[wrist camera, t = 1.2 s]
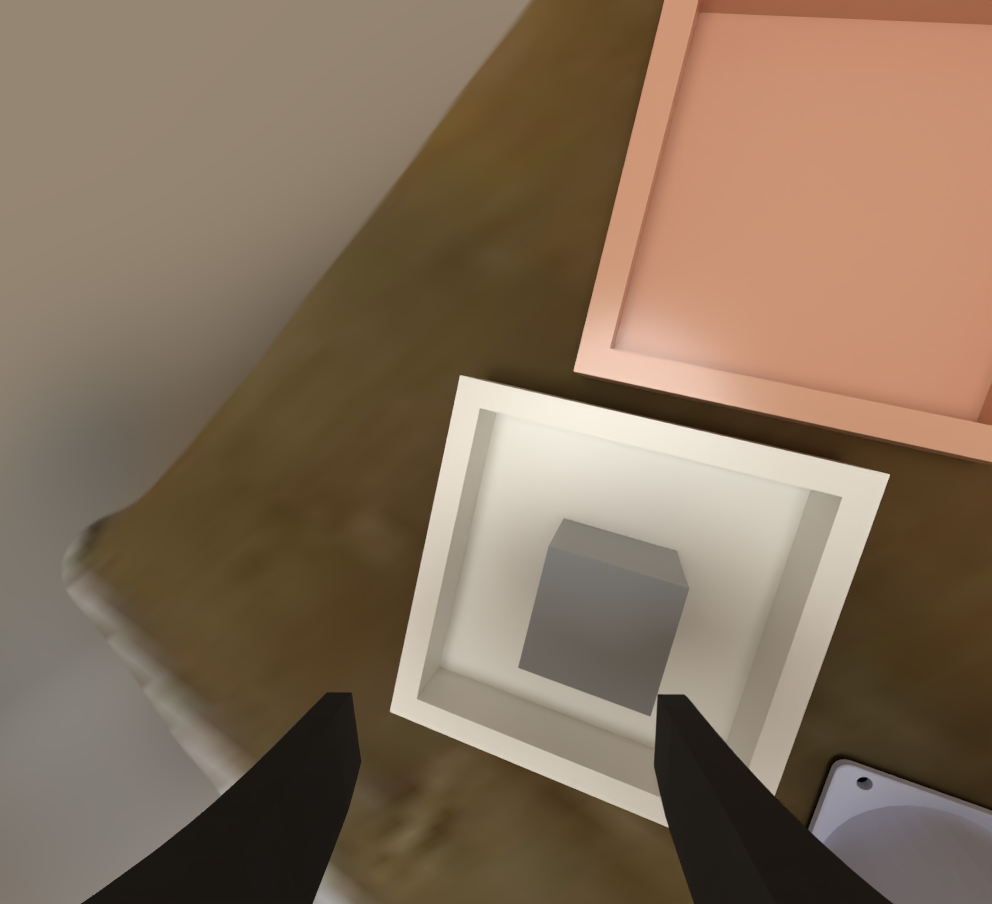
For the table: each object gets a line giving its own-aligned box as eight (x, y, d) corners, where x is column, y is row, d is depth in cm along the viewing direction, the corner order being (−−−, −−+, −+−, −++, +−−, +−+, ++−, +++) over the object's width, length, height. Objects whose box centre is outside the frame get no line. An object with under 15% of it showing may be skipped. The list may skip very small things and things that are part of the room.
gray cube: (676, 550, 19) (689, 588, 15) (645, 655, 20) (650, 716, 16) (564, 518, 20) (548, 545, 16) (538, 618, 21) (517, 667, 17)
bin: (1147, 20, 15) (1301, -93, 11) (976, 462, 17) (1063, 477, 14) (675, 2, 18) (686, -91, 15) (582, 376, 20) (573, 371, 17)
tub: (840, 461, 18) (890, 474, 15) (730, 785, 20) (751, 861, 17) (486, 379, 21) (460, 375, 18) (423, 667, 23) (389, 711, 20)
